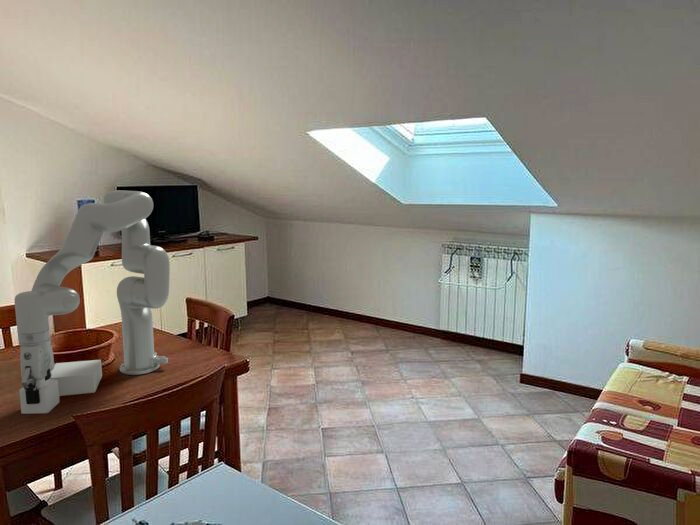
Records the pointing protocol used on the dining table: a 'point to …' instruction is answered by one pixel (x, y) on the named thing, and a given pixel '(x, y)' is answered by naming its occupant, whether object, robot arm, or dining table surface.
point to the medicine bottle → (41, 396)
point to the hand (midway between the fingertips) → (39, 396)
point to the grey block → (77, 376)
